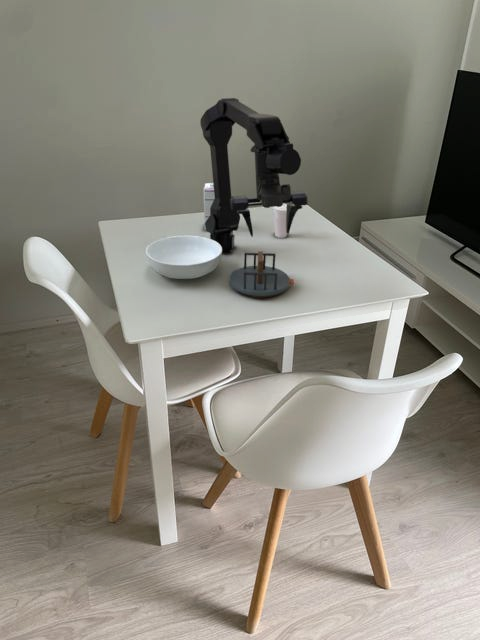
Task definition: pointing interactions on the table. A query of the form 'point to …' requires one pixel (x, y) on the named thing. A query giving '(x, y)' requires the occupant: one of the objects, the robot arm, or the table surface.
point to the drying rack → (260, 277)
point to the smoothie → (280, 220)
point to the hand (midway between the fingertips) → (269, 234)
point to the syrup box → (208, 200)
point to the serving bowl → (184, 256)
